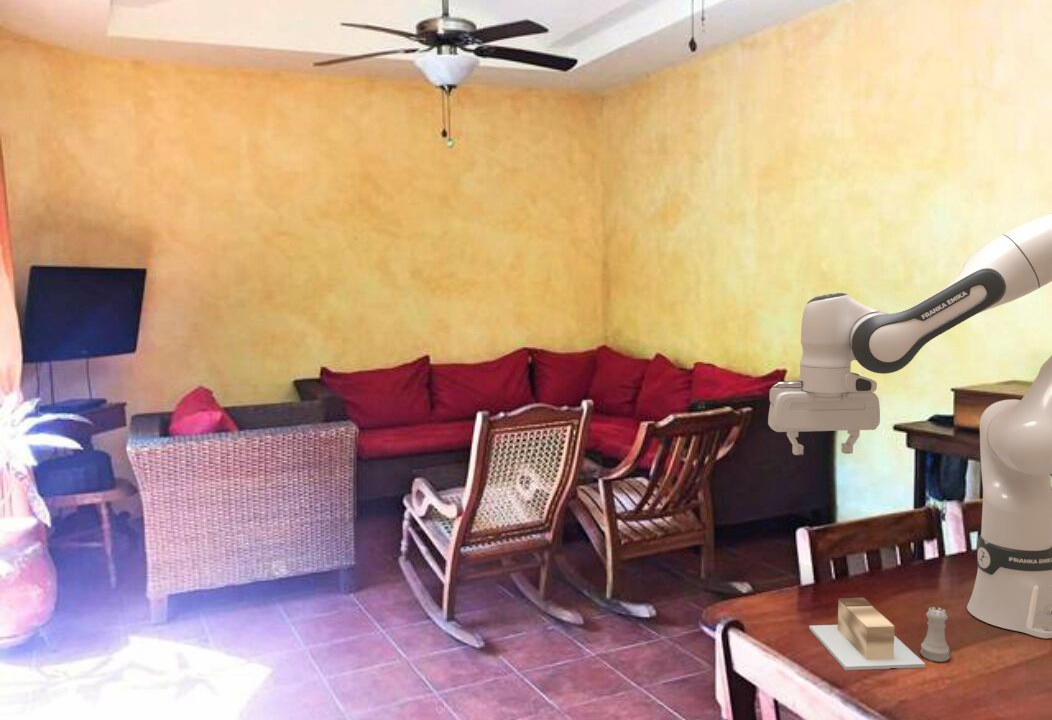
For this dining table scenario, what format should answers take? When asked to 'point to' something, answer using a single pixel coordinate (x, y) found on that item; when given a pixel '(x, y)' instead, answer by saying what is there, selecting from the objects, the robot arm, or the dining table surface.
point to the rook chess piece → (935, 637)
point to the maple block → (866, 628)
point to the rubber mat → (854, 660)
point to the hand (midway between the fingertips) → (822, 453)
